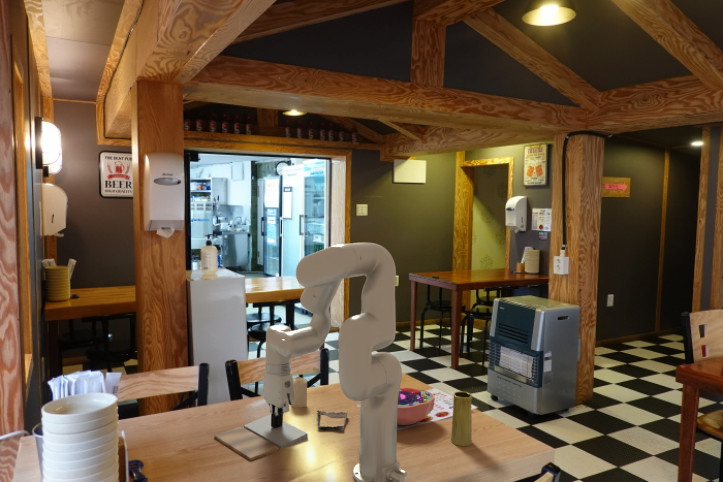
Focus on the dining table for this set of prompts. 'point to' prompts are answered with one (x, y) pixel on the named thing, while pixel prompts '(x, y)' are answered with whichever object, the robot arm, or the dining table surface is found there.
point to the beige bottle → (300, 392)
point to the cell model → (413, 405)
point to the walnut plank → (246, 443)
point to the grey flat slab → (276, 432)
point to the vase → (462, 419)
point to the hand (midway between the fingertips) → (276, 426)
